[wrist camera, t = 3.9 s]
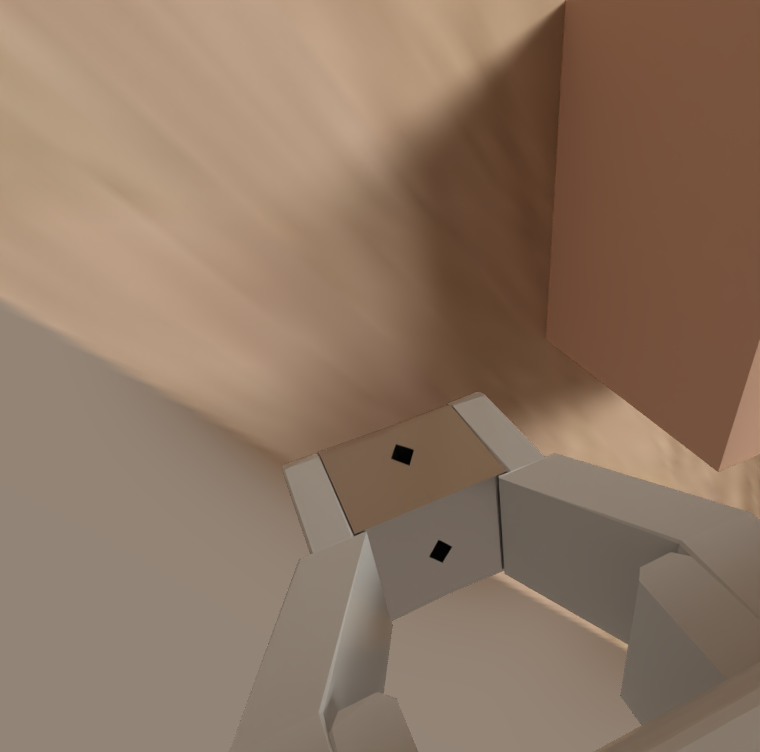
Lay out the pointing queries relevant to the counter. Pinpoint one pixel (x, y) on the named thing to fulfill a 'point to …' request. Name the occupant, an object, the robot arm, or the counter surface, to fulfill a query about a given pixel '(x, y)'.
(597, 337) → the terracotta block
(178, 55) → the counter surface
